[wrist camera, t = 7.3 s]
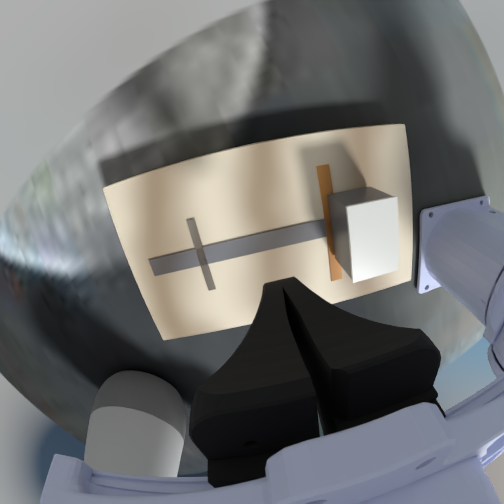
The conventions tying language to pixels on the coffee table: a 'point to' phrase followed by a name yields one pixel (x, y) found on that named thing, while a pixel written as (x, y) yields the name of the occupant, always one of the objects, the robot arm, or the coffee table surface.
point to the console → (254, 223)
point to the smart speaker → (136, 426)
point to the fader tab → (365, 232)
